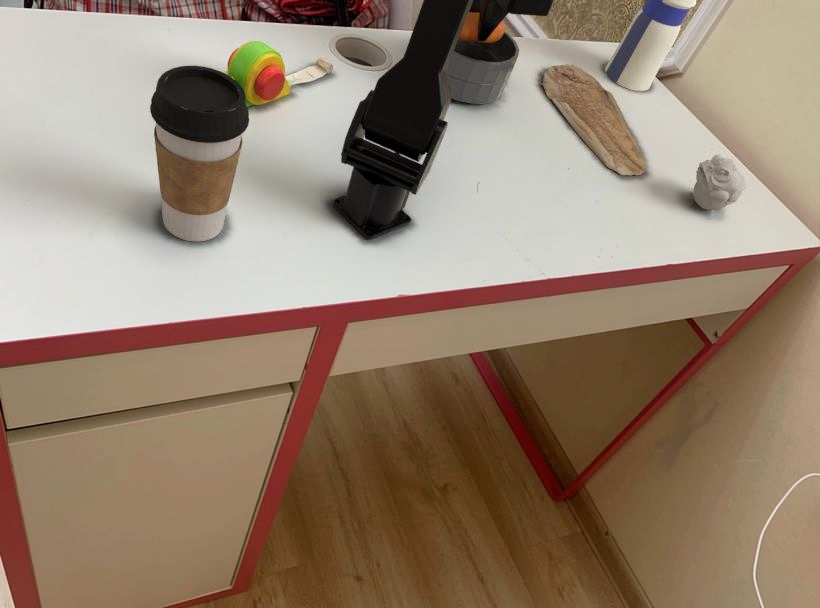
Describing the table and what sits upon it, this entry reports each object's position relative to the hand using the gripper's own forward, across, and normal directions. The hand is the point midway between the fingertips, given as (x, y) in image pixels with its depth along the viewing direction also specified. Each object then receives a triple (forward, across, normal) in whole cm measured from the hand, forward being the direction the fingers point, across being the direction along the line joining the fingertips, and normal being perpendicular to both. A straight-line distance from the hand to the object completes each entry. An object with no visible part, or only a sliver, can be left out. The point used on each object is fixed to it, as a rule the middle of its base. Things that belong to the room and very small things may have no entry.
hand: (475, 32), depth 95 cm
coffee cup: (+7, -26, +43) cm, 51 cm away
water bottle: (+7, +2, -32) cm, 33 cm away
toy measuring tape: (+7, -3, +28) cm, 29 cm away
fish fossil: (+7, -9, -18) cm, 22 cm away
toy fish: (+1, 0, 0) cm, 1 cm away
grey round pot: (+7, 0, 0) cm, 7 cm away
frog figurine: (+7, -28, -24) cm, 38 cm away
